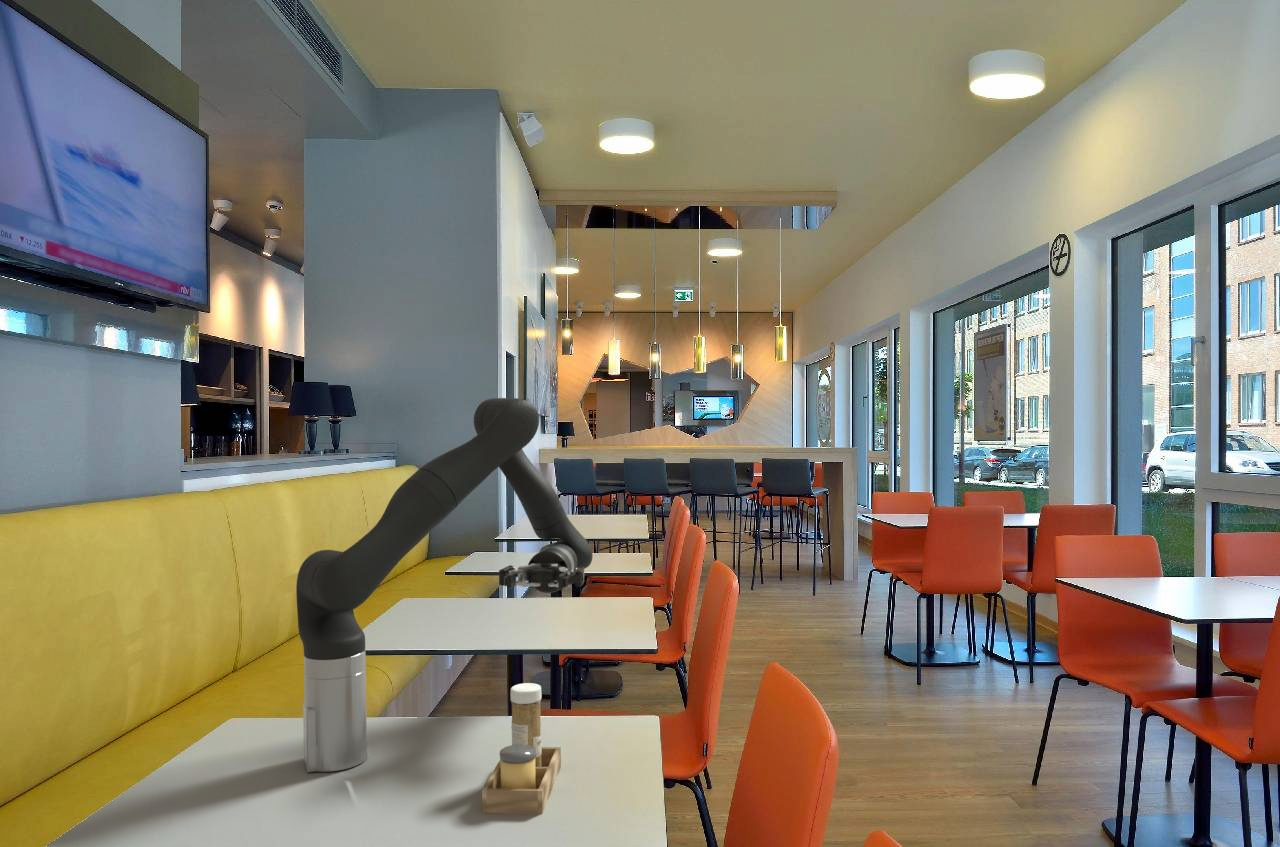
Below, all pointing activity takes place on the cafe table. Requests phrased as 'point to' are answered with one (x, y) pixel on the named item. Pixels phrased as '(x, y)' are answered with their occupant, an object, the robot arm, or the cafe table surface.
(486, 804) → the caddy
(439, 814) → the cafe table surface
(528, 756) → the honey jar
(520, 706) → the sprinkles bottle
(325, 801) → the cafe table surface
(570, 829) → the cafe table surface
